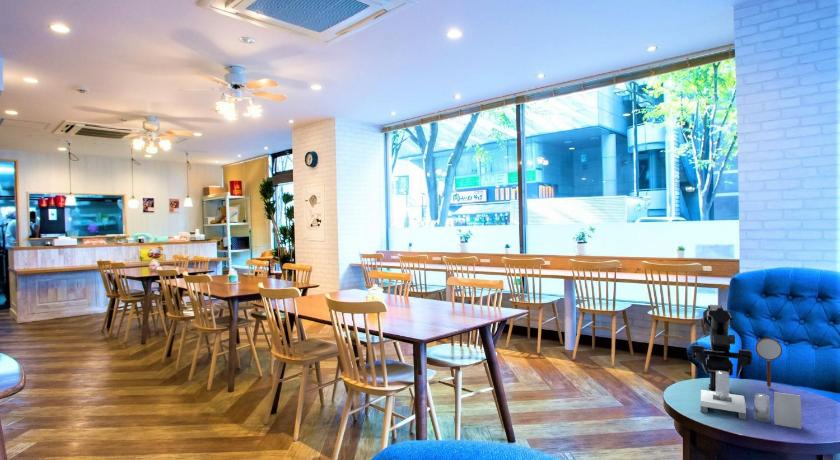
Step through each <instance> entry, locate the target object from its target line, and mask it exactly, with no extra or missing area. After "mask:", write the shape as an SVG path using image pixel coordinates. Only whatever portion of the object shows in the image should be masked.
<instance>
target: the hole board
mask: <svg viewBox="0 0 840 460" xmlns="http://www.w3.org/2000/svg"><path fill="white" fill-rule="evenodd" d="M708 408H709V409H716V410H717V409H722V410H729V411H728V412H734V413H735V412H736V413H737V415H738V419H741V420H747V406H746V401H745V396H744V395H739V394H733V393H729V402H727V401H720V400H716V391H714V390H705V389H701V390H700V413H708V411H709V410H708Z"/></svg>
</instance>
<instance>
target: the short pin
mask: <svg viewBox="0 0 840 460" xmlns="http://www.w3.org/2000/svg"><path fill="white" fill-rule="evenodd" d="M753 395H754V398H753V399H754V419H755V420H756V421H758V422H763V423H769V422H770V395H768V394H765V393H758V392H757V393H754V394H753Z"/></svg>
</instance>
